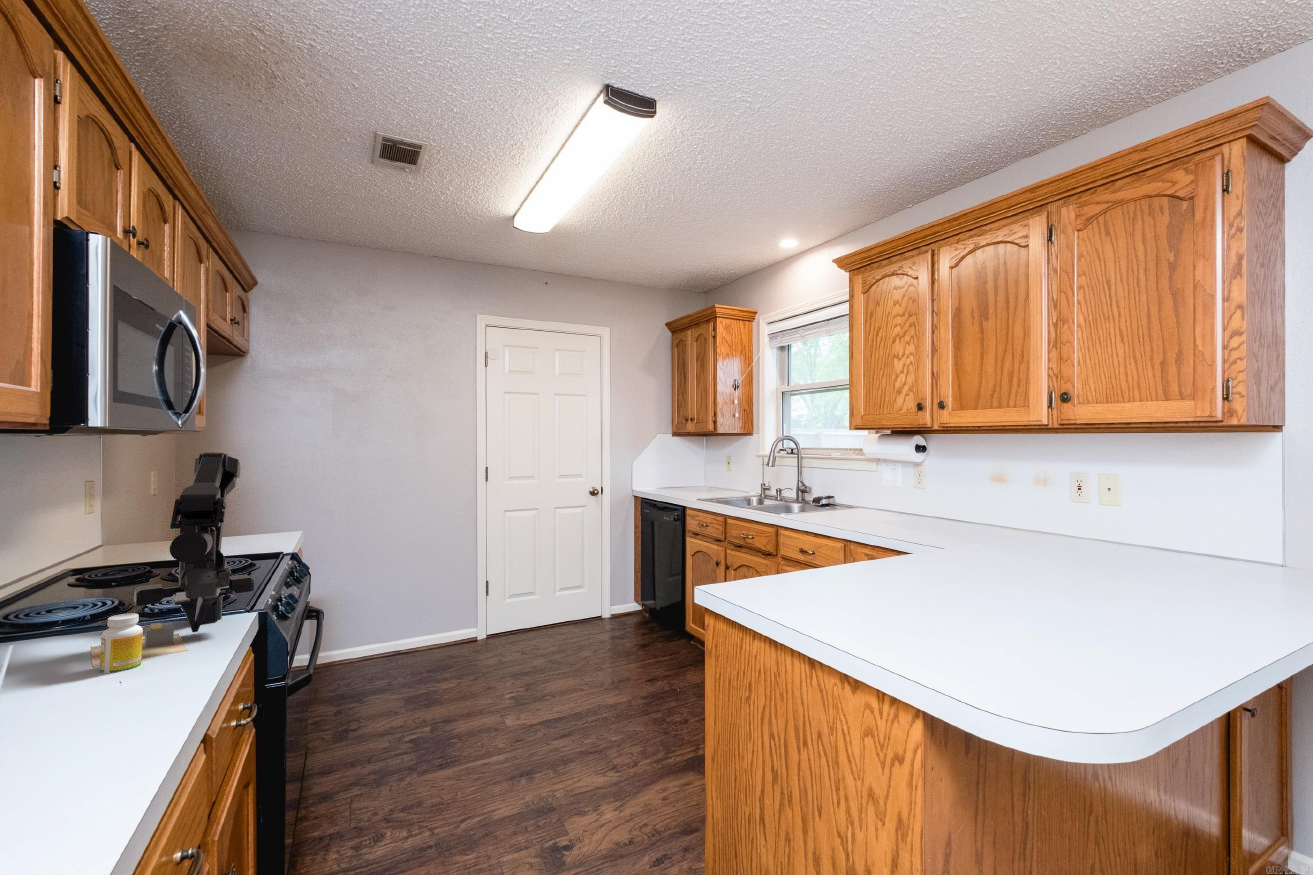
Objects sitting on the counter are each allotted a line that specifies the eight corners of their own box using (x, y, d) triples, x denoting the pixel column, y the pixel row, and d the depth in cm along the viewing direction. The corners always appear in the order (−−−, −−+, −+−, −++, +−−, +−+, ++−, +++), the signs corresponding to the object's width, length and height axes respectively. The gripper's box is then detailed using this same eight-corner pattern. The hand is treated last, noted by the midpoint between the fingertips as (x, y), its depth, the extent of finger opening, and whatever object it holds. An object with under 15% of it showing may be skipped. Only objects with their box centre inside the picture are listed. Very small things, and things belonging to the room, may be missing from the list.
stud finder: (144, 642, 115) (145, 623, 115) (170, 638, 118) (171, 619, 118) (146, 647, 113) (147, 628, 113) (173, 642, 115) (173, 624, 115)
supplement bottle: (90, 677, 100) (92, 620, 100) (119, 665, 105) (121, 611, 106) (122, 677, 100) (124, 620, 100) (149, 666, 105) (151, 612, 105)
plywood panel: (90, 651, 112) (91, 646, 112) (178, 636, 121) (178, 633, 121) (92, 671, 102) (92, 666, 102) (187, 654, 111) (187, 650, 111)
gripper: (140, 565, 107) (136, 652, 107) (261, 554, 121) (258, 631, 120) (135, 557, 115) (132, 637, 115) (249, 547, 128) (246, 619, 128)
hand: (194, 631), depth 119 cm, fingers closed
